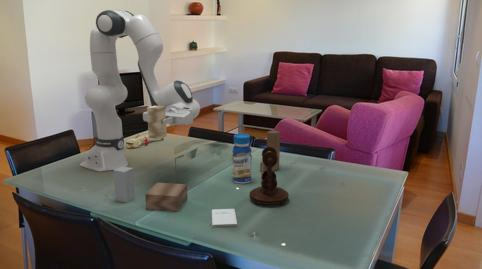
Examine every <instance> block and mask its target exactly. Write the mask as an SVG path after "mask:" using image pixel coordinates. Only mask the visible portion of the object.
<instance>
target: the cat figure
mask: <svg viewBox="0 0 482 269" xmlns="http://www.w3.org/2000/svg"><path fill="white" fill-rule="evenodd" d="M164 140H165V137H163V138H161V139H154V138H149V134H146V135H141V136H140V134H138V135H137V136H136V137H135V138H128V139H127V141H126V142H125V144H127V145H126V147H127V149H132V148H139V147H140V146H141V144H143V143H144V144H145V146H149V145H148V144H149V141H150V142H152V141H155V142H156V141H164Z"/></svg>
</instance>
